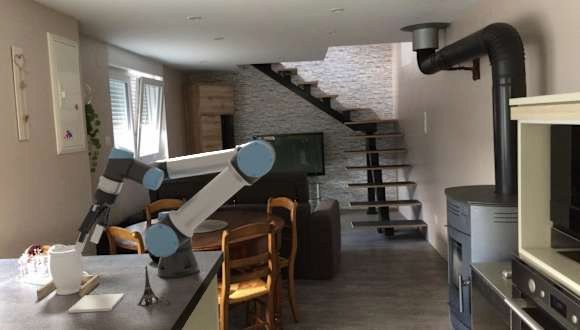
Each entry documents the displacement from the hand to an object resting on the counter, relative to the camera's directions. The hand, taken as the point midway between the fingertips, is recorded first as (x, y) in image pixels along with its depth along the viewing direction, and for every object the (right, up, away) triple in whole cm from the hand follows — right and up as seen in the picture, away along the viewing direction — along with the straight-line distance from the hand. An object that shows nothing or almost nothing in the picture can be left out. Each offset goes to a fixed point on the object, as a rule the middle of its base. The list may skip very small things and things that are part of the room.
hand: (86, 246), depth 178 cm
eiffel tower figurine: (+27, -16, -17) cm, 36 cm away
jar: (-5, -15, -2) cm, 16 cm away
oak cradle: (-5, -15, -2) cm, 16 cm away
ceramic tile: (+10, -16, -16) cm, 24 cm away
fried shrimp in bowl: (+19, -11, +35) cm, 41 cm away
